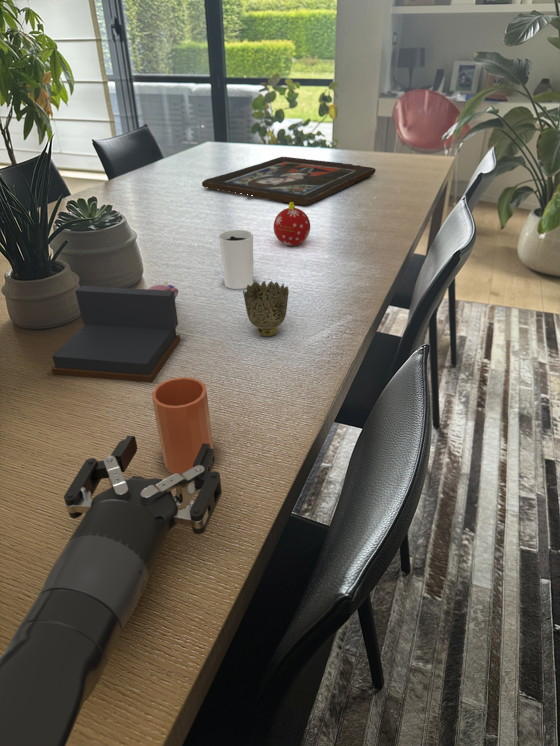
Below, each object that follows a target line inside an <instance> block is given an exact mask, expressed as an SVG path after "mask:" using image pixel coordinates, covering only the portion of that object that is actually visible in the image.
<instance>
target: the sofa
mask: <svg viewBox="0 0 560 746" xmlns="http://www.w3.org/2000/svg"><path fill="white" fill-rule="evenodd" d="M74 292H75V296H76V301H77V304H78V309H79V312H80V316H81V321H82V324H83V326H82V327H81V328H79V330H77V332H75V333H74V334H73V335H72V336H71V338H69V339H68V340H67V341H66V342H65V343H64V344H63V345H62V346H61V347H60V348H59V349H58V350H57V351H55V353H54V354H52V359H53V360H52V361H53V364H54V366H53V367H52V368H51V372H52V374H53V375H60V376H72V377H84V378H95V379H107V380H120V381H131V382H143V383H153V381H154V380H155V378H156V377H157V375H158V374H159V373H160V371H161V369H162V368H163V366H164V365H165V363H166V362H167V361H168V359H169V358H170V356H171V355H172V353H173V352H174V350H175V349H176V347H177V346H178V345H179V343H180V341H181V335H180V334H177V327H178V325H179V320H178V319H179V318H178V313H177V306H176V298H175V297H174V291H167V290H149V288H130V287H129V288H128V287H110V286H93V285H92V286H91V285H79V287H78V288H76V289H75V290H74Z"/></svg>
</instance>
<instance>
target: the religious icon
mask: <svg viewBox="0 0 560 746" xmlns="http://www.w3.org/2000/svg"><path fill="white" fill-rule="evenodd" d="M376 171H377V170H376V168H374V167H371V166H365V165H363V166H362V165H359V164H357V165H356V164H352V163H343V162H336V161H328V160H327V161H326V160H316V159H308V158H299V157H292V156H279V157H276V158H272V159H269V160H267V161H264V162H261V163H258V164H253V165H251V166H247V167H244V168H240V169H238V170H234V171H231V172H227V173H224V174H220V175H217V176H214V177H210V178H206V179H204V180H203V181H202V182H201V186H202V187H204V188H205V189H207V190H208V189H209V190H215V191H219V192H220V191H221V192H225V193H230V194H235V195H242V196H247V199H248V200H251V199H254V198H259V199H265V200H272V201H277V202H283V203H286V204H287V203H288V204H289V203H290V202H293V203H294V205H297V206H298V205H299V206H309V205H311V204H313V203H316V202H318V201H320V200H323V199H324V198H326V197H329V196H331V195H333V194H334V193H335V194H336V192H339V191H342V190H343V189H346V188H347V187H349V186H351V185H353V184H355V183H357V182H360V181H361V180H362V181H363V180H364V179H366V178H368V177H371V176H374V174H375V173H376ZM206 187H208V188H206ZM212 188H213V189H212ZM217 189H219V190H217ZM223 190H224V191H223ZM229 191H230V192H229ZM235 192H236V193H235ZM240 193H242V194H240ZM247 194H248V195H247ZM251 195H253V196H251Z"/></svg>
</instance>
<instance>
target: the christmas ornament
mask: <svg viewBox="0 0 560 746" xmlns="http://www.w3.org/2000/svg"><path fill="white" fill-rule="evenodd" d="M295 205H296V204H294V203H293V202H290V203H288V207H287V208H284V209H282V210H281V211H280V212H279V213H277V215H276V216H275V219H274V221H273V233H274V235H275V237H276V238H277V240H278V241H279V242H280V243H281V244H283V245H285V246H290V247H294V246H298V245H300V244H302V243H304V242H305V241H306V240H307V239H308V237H309V235H310V232H311V221H310V218H309V216H308V214H306V213H305V212H304V211H303V210H302V209H300V208H298V207H296V206H295Z"/></svg>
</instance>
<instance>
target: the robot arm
mask: <svg viewBox="0 0 560 746" xmlns="http://www.w3.org/2000/svg"><path fill="white" fill-rule="evenodd" d="M136 439H137V438H136V436H135V435H127V436H126V437H125V439H121V440H120V441H119V442H118V443H117V444H116V446H115V448H114V449H113V451H112V452H111V454H110V455H108V456H106V457H105V458H104V459H103V460H97V458H94V457H90V458H87V459H85V461H84V462H83V464H82V465H81V467H80V469H79V471H77V472H78V473H77V474H76V475H75V477H74V479H73V480H72V482H71V483H70V486H69V487H68V488H67V490H66V492H65V494H64V495H63V500H64V502H65V506H66V509H67V512H68V515H69V517H70V518H71V519H78V518H80V517H81V516H82V515H83V514H84V516H83V518H81V520H80V522H79V524H78V525H77V526H76V529H75V530H74V531H73V533H72V535H71V536H70V538H69V539H68V541H67V543H66V545H65V546H64V548H63V549H62V551H61V552H60V554H59V556H58V557H57V559H56V560H55V562H54V564H53V565H52V567H51V568H50V570H49V573H48V574H47V576H46V578H45V580H44V583H43V586H42V588H41V590H40V592H39V594H38V595H37V597H36V598H35V600H34V602H33V603H32V605H31V606H30V608H29V609H28V611H27V613H26V614H25V616H24V617H23V619H22V621H21V623H20V624H19V626H18V627H17V629H16V631H15V633H14V634H13V636H12V638H11V640H10V642H9V644H8V645H7V647H6V649H5V651H4V652H3V654H2V655H1V656H0V746H67V744H68V741H69V739H70V737H71V734H72V733H73V729H74V727H75V725H76V722H77V720H78V717H79V715H80V713H81V710H82V708H83V705H84V703H85V702H86V701H87V700H88V699H89V698H90V696H91V695H92V694H93V692H94V691H95V689H96V687H97V686H98V683H99V682H100V680H101V677H102V675H103V674H104V671H105V670H106V667H107V666H108V663H109V660H110V658H111V657H112V654H113V652H114V649H115V647H116V645H117V643H118V640H119V638H120V636H121V633H122V632H123V630H124V628H125V626H126V625H127V623H128V622H129V620H130V618H131V617H132V615H133V614H134V611H135V610H136V609H137V606H138V604H139V601H140V599H141V597H142V596H143V595H144V594H145V591H146V588H147V586H148V585H147V584H148V581H149V579H150V576H151V574H152V572H153V569H154V567H155V565H156V563H157V561H158V558H159V556H160V554H161V551H162V549H163V547H164V545H165V542H166V539H167V536H168V533H169V532H170V531H171V530H172V529H174V527H175V526H177V525H181V526H185V527H192V528H191V529H192V533H194V534H195V535H202V534H204V533H205V532H206V530H207V527H208V525H209V523H210V521H211V519H212V516H213V514H214V512H215V510H216V507H217V505H218V503H219V501H220V499H221V497H222V494H223V490H222V483H221V482H222V481H221V474H220V473H219V472H218V471H212V470H213V468H214V466H215V463H216V461H215V451H213V450H214V448H213V449H211V447H210V444H207V443H203V444H202V446H201V448H200V450H199V453H198V455H197V457H196V459H195V461H194V464H193V468H191V469H189V470H188V471H186V472H184V473H182V474H180V473H175V474H172V475H170V476H167V478H165V479H162V478H155V477H153V478H145V477H143V476H137V475H132V476H131V477H128V478H126V479H125V477H124V474H123V473H125V472H126V470H127V469H128V467H129V465H130V464H131V462H132V460H133V459H134V457H135V456H136V454H137V452H138V443H137V440H136ZM103 479H107V480H108V482H109V485H110V487H109V488H107V489H106V490H104V491H102V492H100V493H98V494H97V495H95V496H94V497H93V495H94V493H95V492H96V489H97V488H98V486H99V484H100V482H101V480H103ZM174 489H175V496H173V493H172V491H173V490H174ZM194 497H196V498H195V500H191V499H192V498H194ZM185 506H186V507H185ZM184 507H185V508H184ZM182 508H183V509H182Z"/></svg>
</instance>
